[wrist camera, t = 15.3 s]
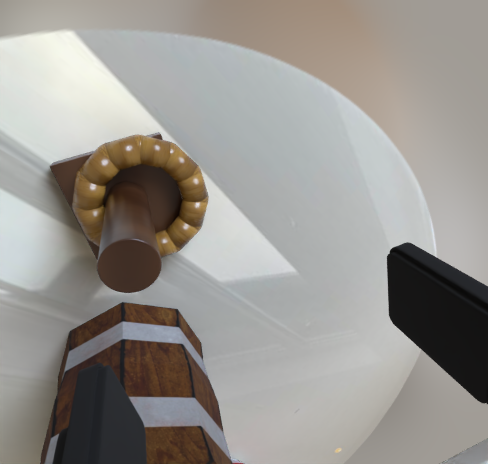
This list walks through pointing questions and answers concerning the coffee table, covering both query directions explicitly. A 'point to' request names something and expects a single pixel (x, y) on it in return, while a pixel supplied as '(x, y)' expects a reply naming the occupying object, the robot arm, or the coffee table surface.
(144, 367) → the mug
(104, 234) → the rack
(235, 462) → the beverage can
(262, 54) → the coffee table surface
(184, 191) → the ring
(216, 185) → the coffee table surface
